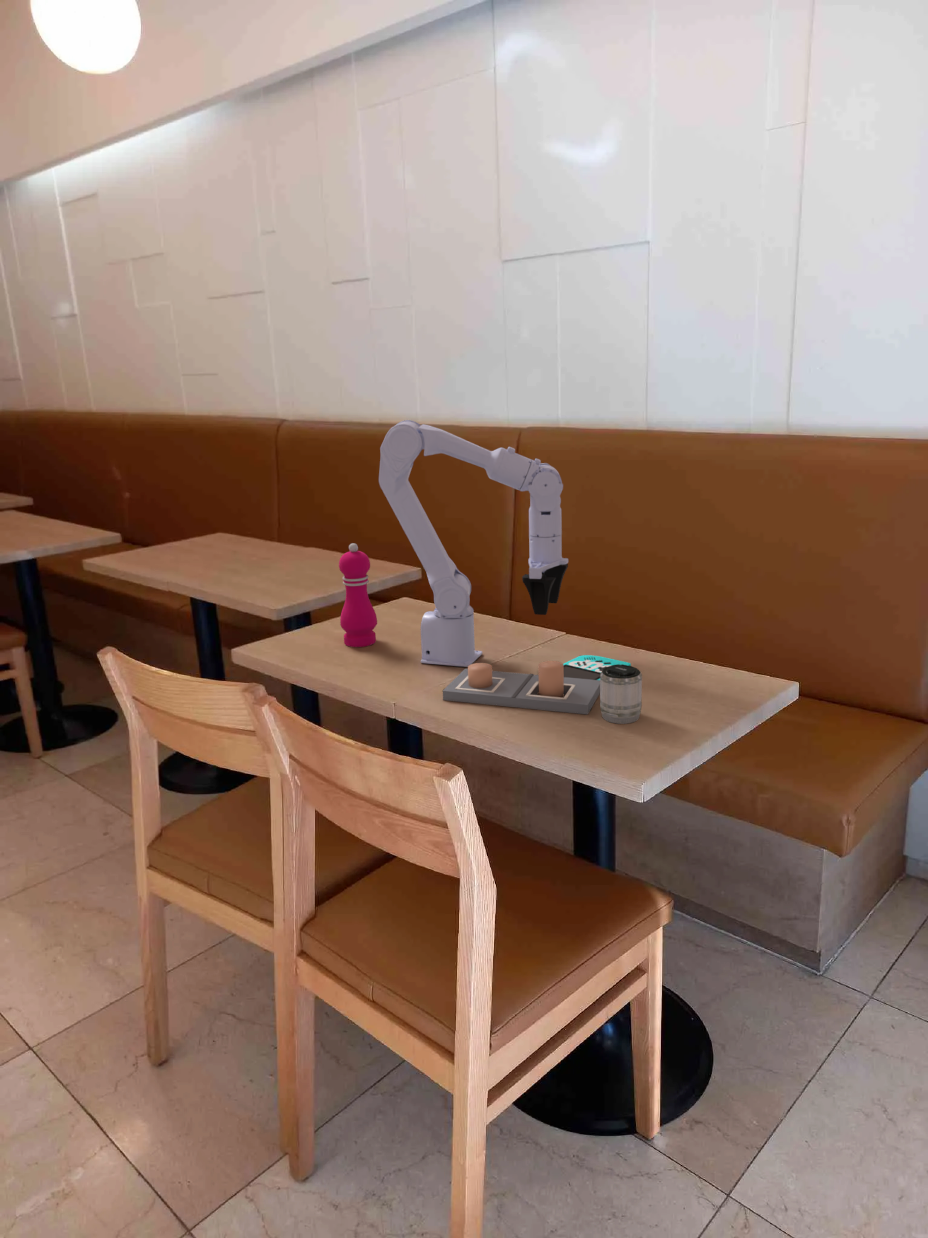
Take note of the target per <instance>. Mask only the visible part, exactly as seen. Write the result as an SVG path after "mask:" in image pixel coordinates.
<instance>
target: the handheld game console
mask: <svg viewBox="0 0 928 1238" xmlns="http://www.w3.org/2000/svg"><path fill="white" fill-rule="evenodd" d="M617 664H620V665H622V664H623V665H627V666H632V664H631V662H627V661H623V660H618V659H613V658H610V657H605V656H600V655H591V654H584V655H579V656H577V657H574V658H572V659H570V660H568V661H566V662H564V663H563V665H564V677H567V678H579V679H590V680H600V673H601V672H602V670H603V669H605V668H606V667H609V666H612V665H617Z"/></svg>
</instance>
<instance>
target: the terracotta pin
mask: <svg viewBox="0 0 928 1238" xmlns="http://www.w3.org/2000/svg"><path fill="white" fill-rule="evenodd" d="M563 664H564V663H563V662H560V661H557V660H556V661H555V660H545V661H541V662H539V663H538V666H537V667H538V668H537V669H538V675H539V692H538V695H540V696H550V697H561V698H564V697H565V695H564V665H563Z"/></svg>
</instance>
